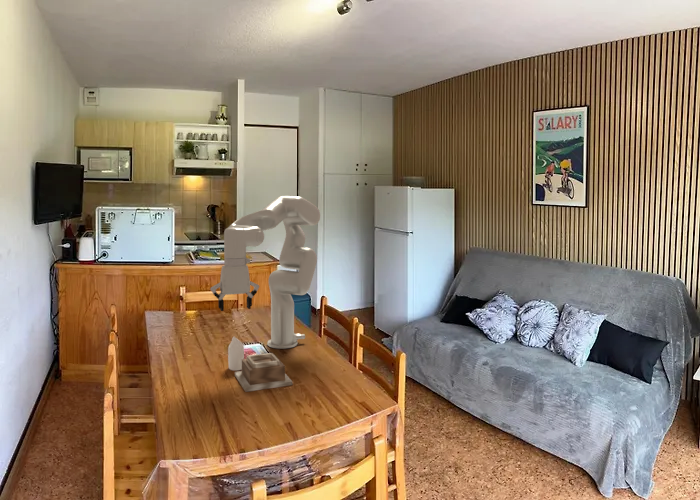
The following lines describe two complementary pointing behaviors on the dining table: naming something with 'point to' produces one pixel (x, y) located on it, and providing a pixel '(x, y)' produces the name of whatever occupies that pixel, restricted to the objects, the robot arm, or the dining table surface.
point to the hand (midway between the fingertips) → (235, 309)
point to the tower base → (262, 373)
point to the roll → (235, 354)
